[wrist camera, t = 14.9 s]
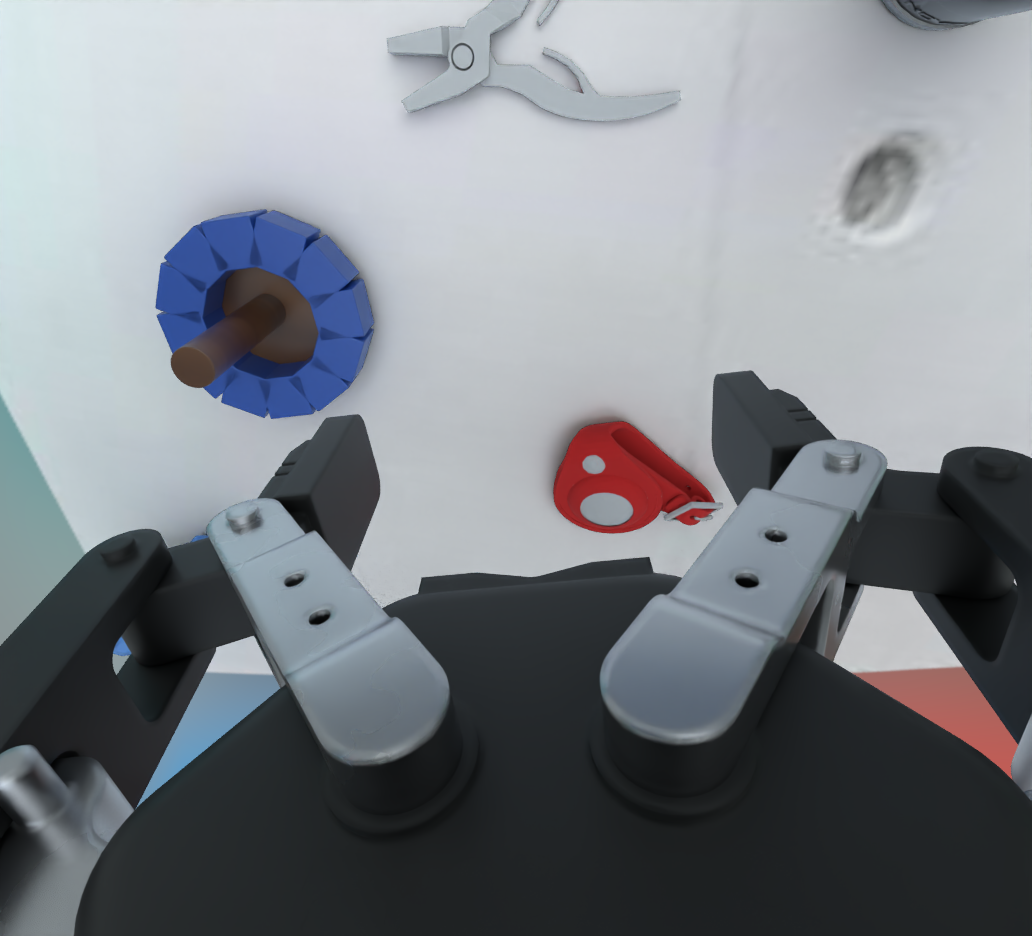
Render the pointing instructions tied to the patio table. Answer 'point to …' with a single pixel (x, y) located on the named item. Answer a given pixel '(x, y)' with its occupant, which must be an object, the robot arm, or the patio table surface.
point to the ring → (310, 269)
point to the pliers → (511, 70)
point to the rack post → (250, 328)
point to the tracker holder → (625, 482)
